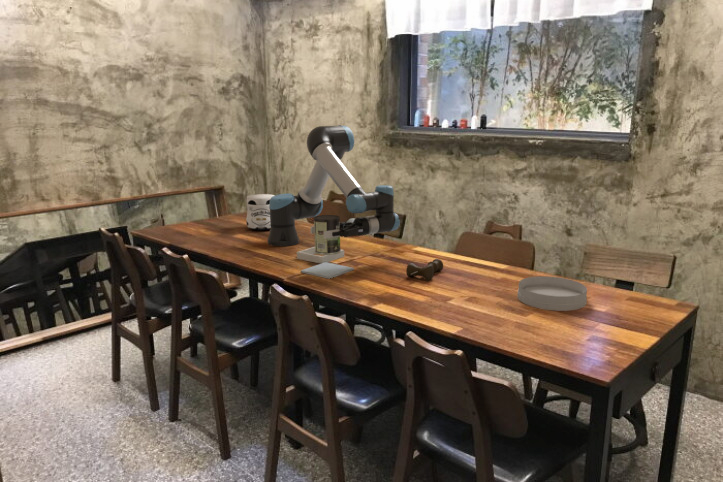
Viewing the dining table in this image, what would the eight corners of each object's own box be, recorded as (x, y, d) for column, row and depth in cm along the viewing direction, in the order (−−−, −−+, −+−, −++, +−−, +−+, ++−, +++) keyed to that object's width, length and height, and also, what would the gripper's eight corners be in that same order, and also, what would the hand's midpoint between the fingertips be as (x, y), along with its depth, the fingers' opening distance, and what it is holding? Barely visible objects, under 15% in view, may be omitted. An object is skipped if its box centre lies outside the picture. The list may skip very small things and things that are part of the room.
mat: (300, 272, 217) (300, 270, 217) (325, 263, 229) (325, 262, 229) (329, 278, 208) (329, 276, 208) (353, 269, 220) (353, 267, 220)
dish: (532, 285, 199) (533, 272, 198) (595, 298, 186) (596, 284, 185) (506, 301, 183) (506, 287, 182) (572, 316, 169) (574, 301, 168)
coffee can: (341, 248, 221) (340, 214, 218) (339, 255, 211) (339, 219, 208) (316, 248, 222) (314, 214, 218) (313, 255, 212) (312, 219, 208)
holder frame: (297, 258, 237) (296, 251, 237) (319, 251, 249) (319, 245, 248) (322, 263, 229) (322, 257, 228) (344, 256, 240) (344, 249, 239)
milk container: (257, 233, 287) (255, 199, 283) (240, 228, 299) (238, 196, 295) (285, 228, 298) (283, 196, 294) (267, 224, 311) (266, 192, 306)
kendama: (448, 273, 216) (421, 284, 200) (428, 270, 222) (399, 280, 206) (449, 259, 215) (421, 269, 199) (428, 255, 221) (399, 265, 205)
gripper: (381, 239, 216) (332, 247, 204) (351, 230, 234) (304, 236, 222) (381, 221, 214) (331, 227, 202) (350, 212, 232) (303, 218, 221)
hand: (317, 232), depth 212 cm, fingers closed on coffee can, 10 cm apart
